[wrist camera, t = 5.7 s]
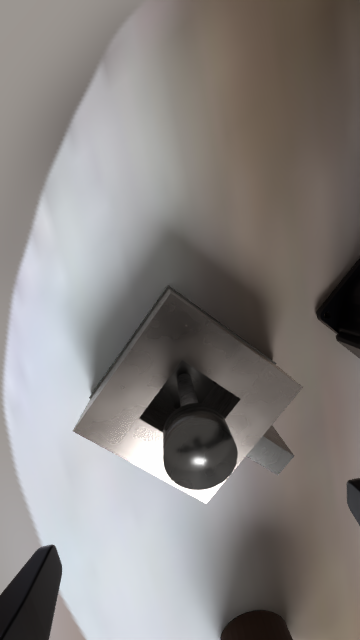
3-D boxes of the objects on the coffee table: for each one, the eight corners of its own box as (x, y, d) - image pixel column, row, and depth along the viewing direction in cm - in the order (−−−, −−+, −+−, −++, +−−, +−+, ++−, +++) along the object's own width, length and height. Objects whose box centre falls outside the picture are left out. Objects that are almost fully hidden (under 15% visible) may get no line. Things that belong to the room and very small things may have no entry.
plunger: (179, 351, 16) (193, 410, 9) (214, 374, 17) (252, 448, 10) (153, 386, 17) (148, 468, 10) (188, 408, 17) (208, 501, 10)
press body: (167, 285, 16) (170, 290, 12) (300, 380, 18) (339, 411, 14) (91, 394, 17) (70, 431, 13) (224, 472, 19) (241, 524, 15)
